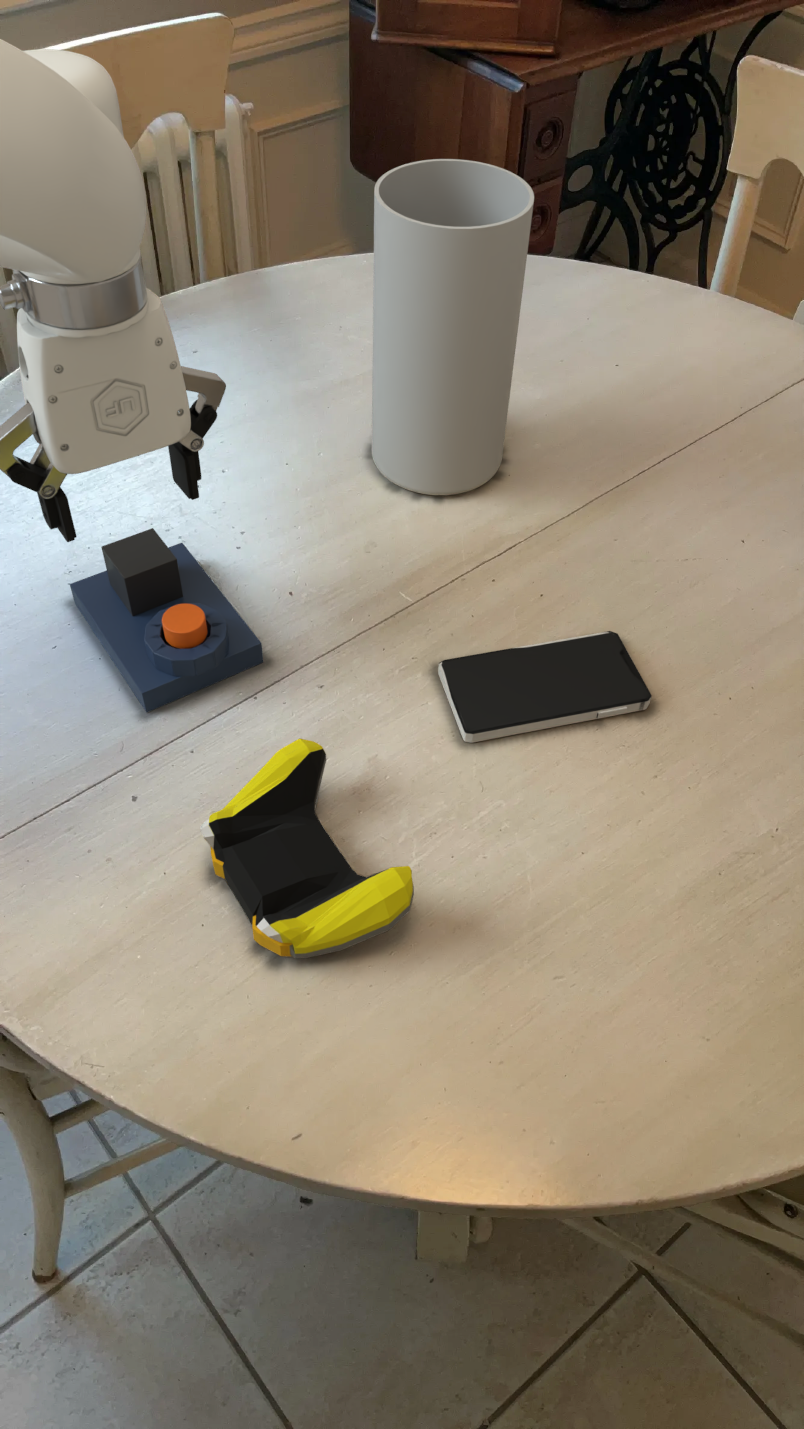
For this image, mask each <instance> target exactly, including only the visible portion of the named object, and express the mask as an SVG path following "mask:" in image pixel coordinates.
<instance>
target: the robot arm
mask: <svg viewBox="0 0 804 1429" xmlns="http://www.w3.org/2000/svg"><path fill="white" fill-rule="evenodd" d="M146 194H147V193H146V187H145V182H144V179H143V175H142V172H141V169H140V166H139V164H138V161H137V159H136V157H135V155H134V152H133V151H132V149H131V147H130V145H129V144H128V141H127V139H125V135H124V128H123V122H122V114H121V108H120V102H119V97H118V93H117V88H116V86H115V83H114V81H113V79H112V76H111V74H110V73H109V72H108V71H107V69H106V67H104V66H103V65H102V64H101V63H99V62H98V61H96V60H95V59H94V58H92V57H90V56H88V55H85V54H82V53H78V52H75V51H74V52H73V51H70V50H64V49H49V48H42V49H41V48H40V49H39V48H37V49H27V50H22V49H20V48H18V47H17V46H15V45H13V44H11V43H9V42H8V41H5V40H4V39H2V38H0V268H3V269H8V270H12V274H11V280H7V281H6V283H5V284H1V285H0V306H1V308H2V309H3V310H9V309H12V308H15V309H16V310H17V313H16V341H17V355H18V364H19V374H20V381H21V387H22V394H23V399H24V405H23V406H22V407H20V408H19V409H18V410H17V411H16V412H14V413H13V414H12V415H11V416H10V417H9V418H8V419H7V420H5V421H4V422H3V423H2V424H0V471H1V472H2V473H3V474H5V476H7V477H8V478H9V479H10V481H12V482H13V483H14V484H17V485H19V486H21V487H23V488H25V489H27V490H30V491H33V492H35V493H37V497H38V501H39V505H40V509H41V512H42V515H43V519H44V521H45V523H46V525H47V526H48V528H49V529H50V530H55V529H57V530H58V531H59V533H60V534H61V535H62V537H63V538H64V540H65V541H66V543H70V542H73V541H76V540H75V539H76V538H77V533H76V529H75V528H76V527H75V524H74V520H73V516H72V512H71V508H70V503H69V499H68V497H67V494H66V493H65V492H64V490H63V489H62V484H63V482H64V481H65V479H66V477H67V476H68V475H77V474H82V473H87V472H90V471H93V470H97V469H100V468H104V467H108V466H110V465H114V464H116V463H120V462H123V461H126V460H130V459H132V458H136V457H139V456H142V455H145V454H148V453H152V452H154V451H158V450H161V449H164V448H166V447H167V448H168V454H169V461H170V462H169V463H170V469H171V474H172V480H173V482H174V483H175V484H176V486H177V487H178V488H179V489H180V490H181V492H182V493H183V495H185V497H186V498H187V499H188V500H192V501H194V500H196V499H199V498H200V491H199V483H198V482H199V481H201V480H202V470H201V461H200V454H199V453H200V452H199V451H201V450H202V449H203V447H204V446H205V441H204V437H205V436H206V435H207V433H208V432H209V431H210V429H211V428H212V427H213V425H214V423H215V422H216V420H217V418H218V412H217V411H218V408H220V405H221V403H222V400H223V398H224V395H225V392H226V389H227V384H226V382H225V381H224V380H223V379H222V378H221V377H220V376H219V375H218V374H217V373H215V372H210V371H207V370H202V369H196V368H193V367H188V366H184V365H181V362H180V357H179V353H178V349H177V346H176V343H175V342H176V341H175V338H174V335H173V331H172V329H171V325H170V321H169V318H168V315H167V313H166V310H165V307H164V305H163V303H162V302H163V301H162V300H161V298H160V296H159V295H157V294H156V293H155V292H153V290H151V289H150V288H148V287H147V285H146V278H145V272H144V271H145V270H144V266H143V258H142V250H141V244H142V242H143V238H144V235H145V230H146V225H147V224H146V223H147V214H148V211H147V208H148V206H147V195H146ZM188 392H192V393H198V394H197V399H196V400H195V401H194V402H193V403H192V405H191V406H190V403H189V398H188ZM32 436H33V438H34V440H35V442H36V443H37V444H38V446H37V448H36V450H35V452H34V453H33V455H32V457H31V459H30V461H28V460H26V459H22V458H20V457H19V456H16V455H14V452H15V450H16V449H18V448H19V447H20V446H21V445H22V444H24V443H25V442H26V441H27V440H28V439H29V438H30V437H32Z"/></svg>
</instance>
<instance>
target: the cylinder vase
mask: <svg viewBox="0 0 804 1429" xmlns="http://www.w3.org/2000/svg"><path fill="white" fill-rule="evenodd" d="M373 189H374V192H373V275H372V276H373V284H372V285H373V286H372V300H373V302H372V304H373V305H372V367H371V368H372V369H371V370H372V374H371V376H372V377H371V378H372V379H371V380H372V382H371V457H372V460H373V462H374V465H375V467H376V468H377V470H378V471H379V473H380V474H381V475H382V476H383V477H385V478H386V479H387V480H388V481H389V482H391V483H392V484H395V485H396V486H398V487H400V488H402V489H405V490H407V491H409V492H412V493H418V494H423V495H429V496H450V495H459V494H462V493H467V492H470V491H472V490H473V491H474V490H475V489H477V488H479V487H481V486H483V485H484V484H486V483H487V482H489V481H490V480H491V479H492V478H493V477H494V476H495V475H496V473H497V472H498V471H499V468H500V466H501V464H502V461H503V460H502V459H503V453H504V446H505V445H504V444H505V436H506V428H507V421H508V412H509V404H510V396H511V389H512V381H513V372H514V365H515V364H514V363H515V357H516V348H517V340H518V332H519V324H520V316H521V308H522V301H523V300H522V299H523V291H524V283H525V275H526V268H527V259H528V253H529V252H528V251H529V244H530V235H531V226H532V219H533V211H534V204H535V203H534V202H535V193H534V191H533V189H532V187H531V186H530V184H529V183H528V182H527V181H526V180H525V179H524V178H522V177H521V176H519V175H517V174H515V173H513V172H512V171H510V170H507V169H506V168H503V167H500V166H497V165H493V164H491V163H485V162H481V161H475V160H469V159H459V158H433V159H424V160H417V161H411V162H408V163H405V164H402V165H398V166H396V167H393V168H391V169H390V170H388V171H387V172H385V173H384V174H382V175H381V176H380V177H379V178H378V179H377V181H376V182H375V185H374V188H373Z"/></svg>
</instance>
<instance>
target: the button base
mask: <svg viewBox="0 0 804 1429" xmlns="http://www.w3.org/2000/svg"><path fill="white" fill-rule="evenodd" d="M167 547H168V546H167ZM168 548H169V549H170V551H171V552H172V553H173V555H174V556H175V557H176V558H177V562H178V568H179V574H180V580H181V586H182V592H183V597H181V598H179V599H176V600H173V601H171V602H168V603H166V604H163V605H161V606H158V607H156V608H153V609H151V610H148V611H146V612H143V613H140V614H138V615H135V616H132V615H131V613H130V612H129V611H128V609H127V608H126V606H125V605H124V603H123V602H122V601H121V599H120V598H119V596H118V595H117V593H116V592H115V591H114V589H113V588H112V586H111V585H110V581H109V577H108V573H107V569H106V570H104V571H101V572H98V573H95V574H93V575H90V576H88V577H85V578H82V579H80V580H77V581H74V582H70V583H69V588H70V591H71V595H72V599H73V603H74V605H75V607H76V608H77V609H78V611H79V612H80V614H81V615H82V617H83V618H84V620H85V621H86V623H87V625H88V626H89V628H90V629H91V631H92V632H93V634H94V636H95V637H96V638H97V640H98V641H99V643H100V644H101V646H102V647H103V649H104V651H105V652H106V654H107V656H108V657H109V658H110V660H111V661H112V663H113V664H114V666H115V667H116V669H117V670H118V672H119V673H120V675H121V676H122V678H123V680H124V682H125V683H126V684H127V685H128V687H129V688H130V690H131V692H132V693H133V695H134V696H135V698H136V699H137V701H138V702H139V704H140V705H141V707H142V708H143V710H144V711H145V713H149V712H151V711H154V710H157V709H158V708H161V707H163V706H166V705H167V704H170V703H173V702H175V701H177V700H180V699H182V698H184V697H186V696H189V695H191V694H193V693H196V692H198V691H201V690H202V689H206V688H207V687H210V686H212V685H214V684H216V683H219V682H221V681H223V680H226V679H228V678H230V677H232V676H235V675H238V674H239V673H242V672H244V671H247V670H249V669H252V668H254V667H256V666H258V665H261V664H263V663H264V654H263V644H262V642H261V640H260V639H259V637H257V635H256V634H255V633H254V631H253V630H252V629H251V628H250V626H249V625H248V624H247V623H246V621H245V620H244V619H243V617H242V616H241V615H240V613H239V612H238V611H237V610H236V609H235V607H234V606H233V605H232V603H230V601H229V600H228V598H227V597H226V596H225V594H224V593H223V592H222V591H221V589H220V588H219V587H218V586H217V584H216V583H215V582H214V580H213V579H212V578H211V577H210V576H209V574H208V573H207V572H206V571H205V569H204V568H203V567H202V566H201V565H200V563H199V562H198V560H196V558H195V557H194V555H193V554H192V553H191V551H189V549H188V547H187V546H185V544H184V543H183V542H179V543H176V544H174V545H170V546H169V547H168ZM184 603H186V604H193V605H196V606H198V607H200V608H201V609H202V610H203V612H204V614H205V618H206V625H207V637H206V639H205V640H204V641H203V642H202V643H201V644H200V645H198V646H196V647H193V648H189V649H179V648H175V647H173V646H171V645H170V644H169V643H168V642H167V641H166V639H165V635H164V630H163V625H162V617H163V614H164V613H165V612H166V610H168V609H169V608H170V607H172V606H175V605H178V604H184Z"/></svg>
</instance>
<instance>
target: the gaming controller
mask: <svg viewBox="0 0 804 1429" xmlns="http://www.w3.org/2000/svg"><path fill="white" fill-rule="evenodd" d="M326 763H327V753H326V752H325V749H324V748H323V746H322V745H321V744H319V743H318V742H316V741H314V740H309V739H304V738H298V739H296V740H294V741H292V742H290V743H289V744H287V745H285V746H283V747H282V748H280V749H278V751H276V752H275V753H274V754H273V755H272V756H271V758H269V760H268V761H267V762H265V764H264V765H263V766H262V767H261V769H259V771H257V772H256V774H255V775H254V776H253V777H252V778H251V779H249V781H247V783H246V784H245V785H244V786H243V787H242V788H241V789H240V790H239V791H238V792H237V793H236V794H235V795H234V796H233V798H232V799H231V800H229V802H228V803H227V804H226V805H225V806H224V807H223V808H222V809H220V810H217V811H215V812H212V813H211V814H210V815H209V817H208V818H207V819H206V820H205V821H204V822H203V823H202V824H200V827H199V828H200V832H201V835H202V838H203V839H204V840H205V841H206V842H207V844H208V845H209V847H210V856H211V857H210V858H211V861H212V867H213V871H214V874H215V876H218V877H219V878H221V879H224V880H225V882H226V883H227V885H228V887H229V889H230V890H231V892H232V894H233V895H234V897H235V899H236V900H237V902H238V904H239V906H240V907H241V909H242V910H243V913H244V915H245V916H246V917H247V919H248V921H249V923H250V924H251V926H252V927H251V928H252V938H253V940H254V941H255V943H257V944H258V945H259V946H260V947H263V948H265V949H266V950H268V951H271V952H272V953H274V954H276V955H277V956H280V957H287V958H294V959H309V958H313V957H318V956H321V955H325V954H330V953H335V952H340V951H343V950H346V949H347V948H351V947H353V946H355V945H357V944H359V943H362V942H364V941H366V940H369V939H372V938H374V937H376V936H379V935H381V934H383V933H386V932H387V931H390V930H391V929H392V928H394V926H396V925H397V923H399V921H401V920H402V919H403V918H404V917H405V916H406V915H407V914H408V913H410V911H411V909H412V905H413V900H414V896H415V888H414V887H415V886H414V882H413V870H412V868H411V867H410V866H409V865H401V866H392V867H389V868H386V869H385V870H381V871H379V872H376V873H373V874H371V875H368V876H365V875H360V874H358V873H357V872H356V871H355V870H354V869H353V868H352V866H351V865H350V864H349V862H348V861H347V859H346V858H345V856H344V854H342V852H341V851H340V849H339V848H338V846H337V845H336V843H335V842H334V840H333V839H332V838H331V836H330V835H329V833H328V831H326V829H325V827H324V826H323V825H322V823H321V821H320V819H319V817H318V816H317V814H316V808H317V803H318V797H319V792H320V789H321V788H320V787H321V784H322V780H323V775H324V771H325V767H326Z"/></svg>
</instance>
